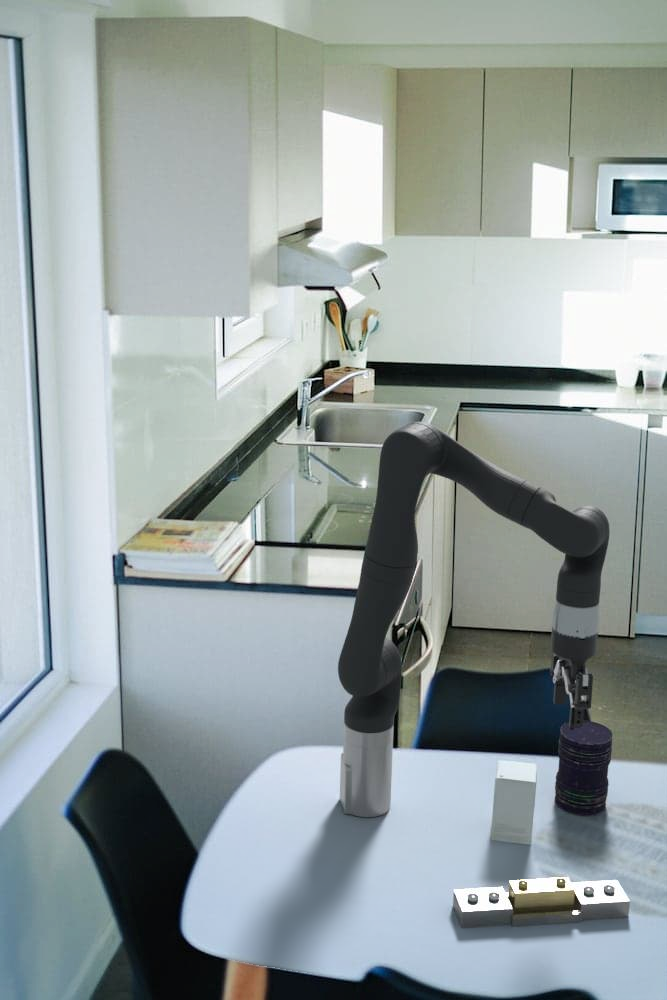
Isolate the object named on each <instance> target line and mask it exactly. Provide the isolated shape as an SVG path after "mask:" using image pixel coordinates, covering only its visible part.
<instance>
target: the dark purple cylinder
mask: <svg viewBox="0 0 667 1000" xmlns="http://www.w3.org/2000/svg"><path fill="white" fill-rule="evenodd" d="M559 731H560V733H559V740H558V750H557V754H558V759H559V760H558V769H557V770H558V771H557V772H556V774H555V783H554V784H555V785H554V790H555V791H554V794H555V795H554V804H555V805H556V807H557V808H559V809H560V810H561V811H563V812H565V813H567V814H570V815H573V816H574V815H575V816H577V817H578V816H580V817H593V816H598V815H601V814H602V813H603V812H604V811H605V810H606V807H607V805H606V804H607V798H608V793H609V785H610V784H609V778H608V773H609V765H610V763H611V760H612V752H613V737H614V735H613V732H612V730H611V729H610V728H608V727H607V726H605V725H603V724H601V723H599V722H595V721H589V720H583V726H582V727H581V728H571V727H570V725H569V721H568V722H565V723H563V724H562V725H561V727H560V730H559Z"/></svg>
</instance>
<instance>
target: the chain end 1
mask: <svg viewBox="0 0 667 1000" xmlns="http://www.w3.org/2000/svg"><path fill="white" fill-rule="evenodd" d="M452 900H453V901H452V907H453V909H455V910H454V912H455V915H456V917H457V919H458V923H459V925H460V927H461V929H464V928H467V929H468V928H477V927H479V928H481V927H494V926H495V927H496V925H497V926H509V924H511V925H510V926H511V927H525V926H526V927H527V925H528V926H541V925H548V924H547V915H546V913H530V914H514V915H512V906H511V904H510V902H509V900H508V892H506V891H505V889H504V888H503V886H498V887H497V886H495V887H477V888H464V889H463V888H462V889H453V899H452ZM507 924H508V925H507ZM523 925H524V926H523Z"/></svg>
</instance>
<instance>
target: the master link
mask: <svg viewBox="0 0 667 1000" xmlns="http://www.w3.org/2000/svg"><path fill="white" fill-rule="evenodd" d="M572 883H573V882H571V880H570V878H569V876H567V877H565V876H564V877H549V878H536V879H531V878H530V879H520V880H519V879H517V880H509V881H508V891H507V893H508V900H509V902H510V904H511V906H512V915H514V914H530V913H546V912H561V911H574V908H573V906H574V895H575V889H574V887H573V885H572Z"/></svg>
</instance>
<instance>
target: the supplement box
mask: <svg viewBox="0 0 667 1000" xmlns="http://www.w3.org/2000/svg"><path fill="white" fill-rule="evenodd" d="M495 771H496V772H495V778H494V779H495V780H494V790H493V792H494V793H493V803H492V804H493V805H492V819H491V828H490V829H491V830H490V840H491V841H497V842H505V843H512V844H520V845H528V846H529V845H531V844H532V835H533V833H532V832H533V826H534V823H533V822H534V816H535V815H534V814H535V803H536V793H537V782H538V781H537V778H538V764H537V763H533V762H531V763H530V762H522V761H511V760H501V759H498V760H497V765H496V770H495Z"/></svg>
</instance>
